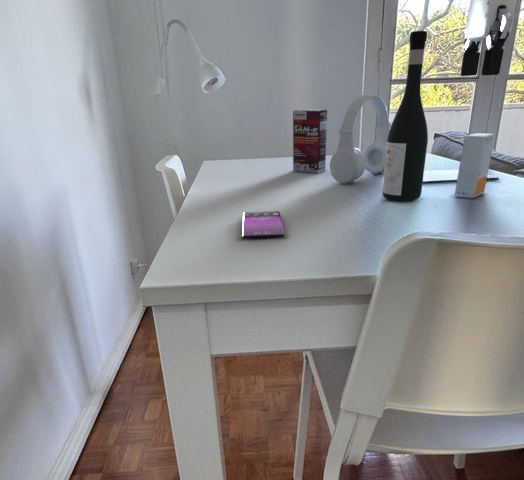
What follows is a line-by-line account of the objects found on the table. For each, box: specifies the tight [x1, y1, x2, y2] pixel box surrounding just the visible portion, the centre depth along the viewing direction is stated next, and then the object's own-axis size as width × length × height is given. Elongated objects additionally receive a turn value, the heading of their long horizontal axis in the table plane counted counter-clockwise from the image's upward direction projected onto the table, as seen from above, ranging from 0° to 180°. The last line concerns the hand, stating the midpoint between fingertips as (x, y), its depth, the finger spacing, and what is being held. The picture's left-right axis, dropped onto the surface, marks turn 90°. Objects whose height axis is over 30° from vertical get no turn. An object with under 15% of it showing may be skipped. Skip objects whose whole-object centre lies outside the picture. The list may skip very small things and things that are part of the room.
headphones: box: [329, 94, 392, 185], centre depth 119 cm, size 20×8×19 cm, turn 138°
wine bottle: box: [382, 30, 429, 203], centre depth 94 cm, size 8×8×30 cm
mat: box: [422, 168, 500, 185], centre depth 121 cm, size 22×14×1 cm, turn 93°
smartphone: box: [241, 210, 285, 239], centre depth 85 cm, size 7×15×1 cm, turn 1°
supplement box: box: [292, 108, 328, 174], centre depth 133 cm, size 9×5×16 cm, turn 55°
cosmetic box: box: [454, 132, 496, 199], centre depth 99 cm, size 6×4×12 cm
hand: (478, 75), depth 91 cm, fingers open, 9 cm apart
